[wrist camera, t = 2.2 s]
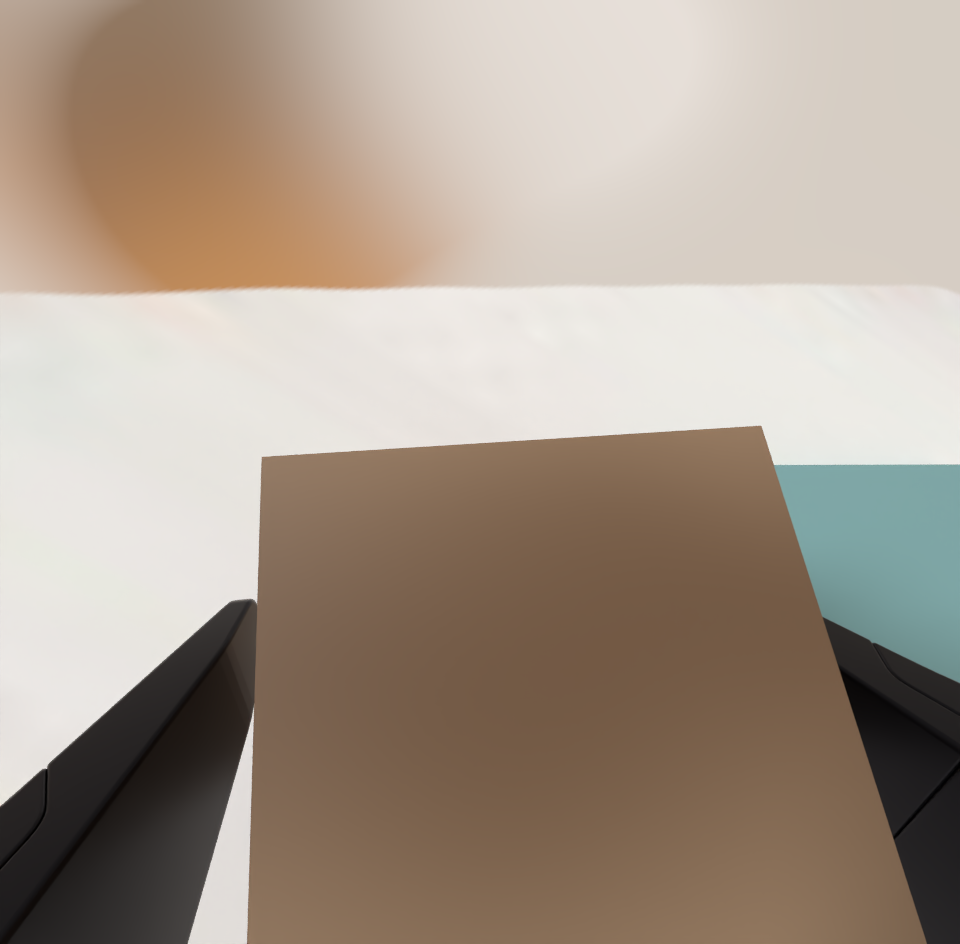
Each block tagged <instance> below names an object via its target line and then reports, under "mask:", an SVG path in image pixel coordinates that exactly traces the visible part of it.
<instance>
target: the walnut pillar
mask: <svg viewBox="0 0 960 944" xmlns="http://www.w3.org/2000/svg"><path fill="white" fill-rule="evenodd" d="M247 944H927V942H926V939H925V936H924V933H923V930H922V927H921V924H920V920H919V917H918V914H917V911H916V908H915V905H914V902H913V899H912V895H911V892H910V889H909V886H908V883H907V880H906V877H905V874H904V870H903V867H902V864H901V861H900V858H899V855H898V852H897V849H896V845H895V842H894V839H893V836H892V833H891V830H890V827H889V824H888V820H887V817H886V814H885V811H884V808H883V805H882V802H881V799H880V795H879V792H878V789H877V786H876V783H875V780H874V777H873V774H872V770H871V767H870V764H869V761H868V758H867V755H866V752H865V749H864V745H863V742H862V739H861V736H860V733H859V730H858V727H857V724H856V720H855V717H854V714H853V711H852V708H851V705H850V702H849V699H848V695H847V692H846V689H845V686H844V683H843V680H842V677H841V674H840V671H839V667H838V664H837V661H836V658H835V655H834V652H833V649H832V646H831V642H830V639H829V636H828V633H827V630H826V627H825V624H824V621H823V617H822V614H821V611H820V608H819V605H818V602H817V599H816V596H815V592H814V589H813V586H812V583H811V580H810V577H809V574H808V571H807V567H806V564H805V561H804V558H803V555H802V552H801V549H800V546H799V542H798V539H797V536H796V533H795V530H794V527H793V524H792V521H791V517H790V514H789V511H788V508H787V505H786V502H785V499H784V496H783V492H782V489H781V486H780V483H779V480H778V477H777V474H776V471H775V467H774V464H773V461H772V458H771V455H770V452H769V449H768V446H767V442H766V439H765V436H764V433H763V430H762V427H761V426H751V427H735V428H719V429H703V430H687V431H671V432H655V433H639V434H623V435H607V436H591V437H575V438H559V439H543V440H527V441H511V442H495V443H479V444H463V445H447V446H431V447H415V448H399V449H383V450H367V451H351V452H335V453H319V454H303V455H287V456H271V457H262V467H261V500H260V533H259V567H258V600H257V633H256V666H255V699H254V732H253V766H252V799H251V832H250V865H249V898H248V931H247Z"/></svg>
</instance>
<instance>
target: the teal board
mask: <svg viewBox="0 0 960 944" xmlns="http://www.w3.org/2000/svg"><path fill="white" fill-rule="evenodd" d="M774 467H775V471H776V474H777V477H778V480H779V483H780V486H781V489H782V492H783V496H784V499H785V502H786V505H787V508H788V511H789V514H790V517H791V521H792V524H793V527H794V530H795V533H796V536H797V539H798V542H799V546H800V549H801V552H802V555H803V558H804V561H805V564H806V567H807V571H808V574H809V577H810V580H811V583H812V586H813V589H814V592H815V596H816V599H817V602H818V605H819V608H820V611H821V614H822V617H824V618H826V619H828V620H830V621H833V622H835V623H837V624H839V625H841V626H843V627H845V628H847V629H849V630H851V631H853V632H855V633H857V634H859V635H861V636H863V637H865V638H867V639H869V640H870V641H871V642H872V643H877V644H879V645H881V646H883V647H885V648H887V649H889V650H891V651H893V652H895V653H897V654H899V655H901V656H903V657H906V658H908V659H910V660H912V661H914V662H916V663H918V664H920V665H922V666H924V667H926V668H928V669H931V670H933V671H935V672H937V673H939V674H941V675H944V676H946V677H948V678H950V679H952V680H955V681H957V682H959V683H960V465H774Z"/></svg>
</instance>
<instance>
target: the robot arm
mask: <svg viewBox="0 0 960 944" xmlns="http://www.w3.org/2000/svg"><path fill="white" fill-rule="evenodd" d="M823 621H824V624H825V627H826V630H827V633H828V636H829V639H830V642H831V646H832V649H833V652H834V655H835V658H836V661H837V664H838V667H839V671H840V674H841V677H842V680H843V683H844V686H845V689H846V692H847V695H848V699H849V702H850V705H851V708H852V711H853V714H854V717H855V720H856V724H857V727H858V730H859V733H860V736H861V739H862V742H863V745H864V749H865V752H866V755H867V758H868V761H869V764H870V767H871V770H872V774H873V777H874V780H875V783H876V786H877V789H878V792H879V795H880V799H881V802H882V805H883V808H884V811H885V814H886V817H887V820H888V824H889V827H890V830H891V833H892V836H893V839H894V842H895V845H896V849H897V852H898V855H899V858H900V861H901V864H902V867H903V870H904V874H905V877H906V880H907V883H908V886H909V889H910V892H911V895H912V899H913V902H914V905H915V908H916V911H917V914H918V917H919V920H920V924H921V927H922V930H923V933H924V936H925V939H926V942H927V944H960V683H959V682H957V681H955V680H952V679H950V678H948V677H946V676H944V675H941V674H939V673H937V672H935V671H933V670H931V669H928V668H926V667H924V666H922V665H920V664H918V663H916V662H914V661H912V660H910V659H908V658H906V657H903V656H901V655H899V654H897V653H895V652H893V651H891V650H889V649H887V648H885V647H883V646H881V645H879V644H877V643H872V642H871V641H870V640H869V639H867V638H865V637H863V636H861V635H859V634H857V633H855V632H853V631H851V630H849V629H847V628H845V627H843V626H841V625H839V624H837V623H835V622H833V621H830V620H828V619H826V618H824V617H823ZM256 633H257V603H256V602H255V600H253V599H244V600H235V601H231V602H229V603H228V604H227V605H226V606H225V607H223V608H222V609H221V610H220V611H219V612H218V613H217V614H216V615H214V616H213V617H212V618H211V619H210V620H209V621H208V622H207V623H206V624H204V625H203V626H202V627H201V628H200V629H199V630H198V631H197V632H195V633H194V634H193V635H192V636H191V637H190V638H189V639H188V640H187V641H185V642H184V643H183V644H182V645H181V646H180V647H179V648H178V649H176V650H175V651H174V652H173V653H172V654H171V655H170V656H169V657H167V658H166V659H165V660H164V661H163V662H162V663H161V664H160V665H159V666H157V667H156V668H155V669H154V670H153V671H152V672H151V673H150V674H148V675H147V676H146V677H145V678H144V679H143V680H142V681H141V682H140V683H138V684H137V685H136V686H135V687H134V688H133V689H132V690H131V691H129V692H128V693H127V694H126V695H125V696H124V697H123V698H122V699H120V700H119V701H118V702H117V703H116V704H115V705H114V706H113V707H112V708H110V709H109V710H108V711H107V712H106V713H105V714H104V715H103V716H101V717H100V718H99V719H98V720H97V721H96V722H95V723H94V724H93V725H91V726H90V727H89V728H88V729H87V730H86V731H85V732H84V733H82V734H81V735H80V736H79V737H78V738H77V739H76V740H75V741H73V742H72V743H71V744H70V745H69V746H68V747H67V748H66V749H65V750H63V751H62V752H61V753H60V754H59V755H58V756H57V757H56V758H54V759H53V760H52V761H51V762H50V763H49V764H48V766H47V769H42V770H41V771H40V772H39V773H37V774H36V775H35V776H34V777H33V778H32V779H31V780H30V781H28V782H27V783H26V784H25V785H24V786H23V787H22V788H21V789H20V790H18V791H17V792H16V793H15V794H14V795H13V796H12V797H10V798H9V799H8V800H7V801H6V802H5V803H4V804H2V805H1V806H0V944H188V940H189V937H190V933H191V930H192V926H193V923H194V919H195V916H196V912H197V909H198V905H199V902H200V898H201V895H202V891H203V888H204V884H205V881H206V877H207V874H208V870H209V867H210V863H211V860H212V856H213V853H214V849H215V846H216V842H217V839H218V835H219V832H220V828H221V825H222V821H223V818H224V814H225V811H226V807H227V804H228V800H229V797H230V793H231V790H232V786H233V783H234V779H235V776H236V772H237V769H238V765H239V762H240V758H241V755H242V751H243V748H244V744H245V741H246V737H247V734H248V730H249V726H250V722H251V718H252V713H253V708H254V699H255V666H256Z"/></svg>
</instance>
